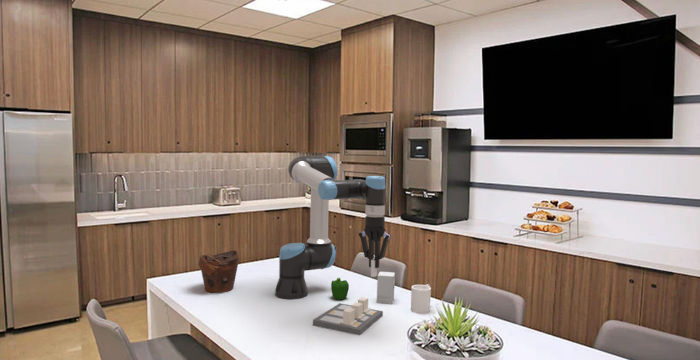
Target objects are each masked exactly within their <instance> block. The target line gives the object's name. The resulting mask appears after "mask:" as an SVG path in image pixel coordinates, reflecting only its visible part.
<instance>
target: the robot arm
mask: <svg viewBox="0 0 700 360" xmlns="http://www.w3.org/2000/svg"><path fill="white" fill-rule="evenodd" d="M287 169H288V171H287V172H288V175H289V176H290V178H291V179H292V180H294V181H295V182H297V183H303V184H305V185H307V186H309V187H310V212H309V213H310V217H309V218H310V219H309V221H310V222H309V224H310V225H309V226H310V227H309V228H310V230H309V238H308V239H307V240H306V245H305V243H303V242H291V243H290V242H289V243H286V244H284V245H282V246H281V247H280V249H279V256H278V258H279V259H278V260H279V261H278V263H279V266H278V267H279V270H278V274H279V276H278V280H277V284H276V287H275V291H274V292H275V293H274V294H275V296H276V297H278V298H280V299H285V300H294V299H302V298H305V297H307V296H308V294H309V293H308V292H309V289H308V287H307V283H306V279H305V272H306V271H315V270H324V269H328V268H331V267H332V266H333V265H334V263H335V260H336V254H337V252H336V251H337V250H336V247H335V246H334V244H333V243H332V240H330V238H329V209H330V208H329V203H330V201H333V200H350V199H351V200H355V199H356V200H357V199H358V200H359V199H362V200H365V218H364V224H365V227H364V229H363V230H362V231H360V232H359V233H358V236H359V238H360V243H361V247H362V251H363V256H364V257H365V258H367V259H368V267H369V268H370V277H371V278H376V276H377V277H378V269H379V268H380V260H382V259H384V258H385V257H386V251H387V248H388V243H389V240H390V239H391V237H392V236H391V234H388V233H387V232H386V229H385V223H386V220H385V215H386V213H385V212H386V210H385V209H386V206H385V204H386V188H387V186H386V178H385V177H384V176H381V175H379V176H378V175H368V176H366V177H365V180H364V179H361V178H360V179H358V178H357V179H342V180H341V179H340V180H339V179H337V176H338V166H337V163H336V161H335V160H334V158H333V157H332V156H327V155H299V156H297V157H294V158H293V159H292V160H291V161H290V162H289V165H288V168H287ZM367 238H368V240H367ZM382 238H383V241H382V243H381V240H382Z"/></svg>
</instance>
